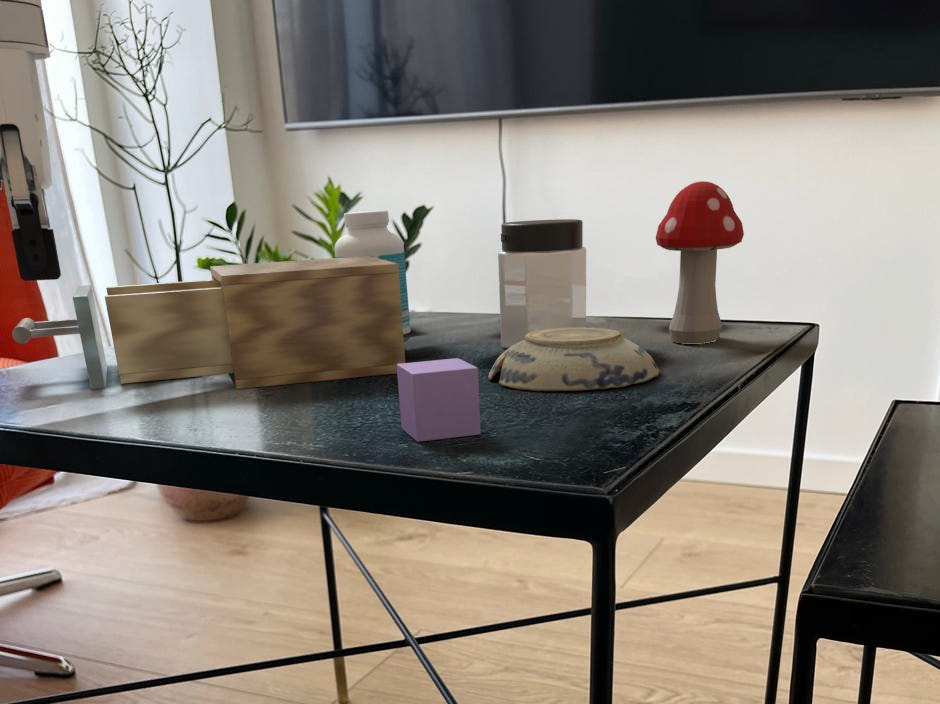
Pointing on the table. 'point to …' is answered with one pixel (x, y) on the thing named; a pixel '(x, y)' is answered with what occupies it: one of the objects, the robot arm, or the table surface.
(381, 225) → the pill bottle
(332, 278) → the cabinet
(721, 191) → the decorative mushroom
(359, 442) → the table surface
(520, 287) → the jar
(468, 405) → the cube
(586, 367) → the decorative bowl
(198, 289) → the drawer
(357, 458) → the table surface
